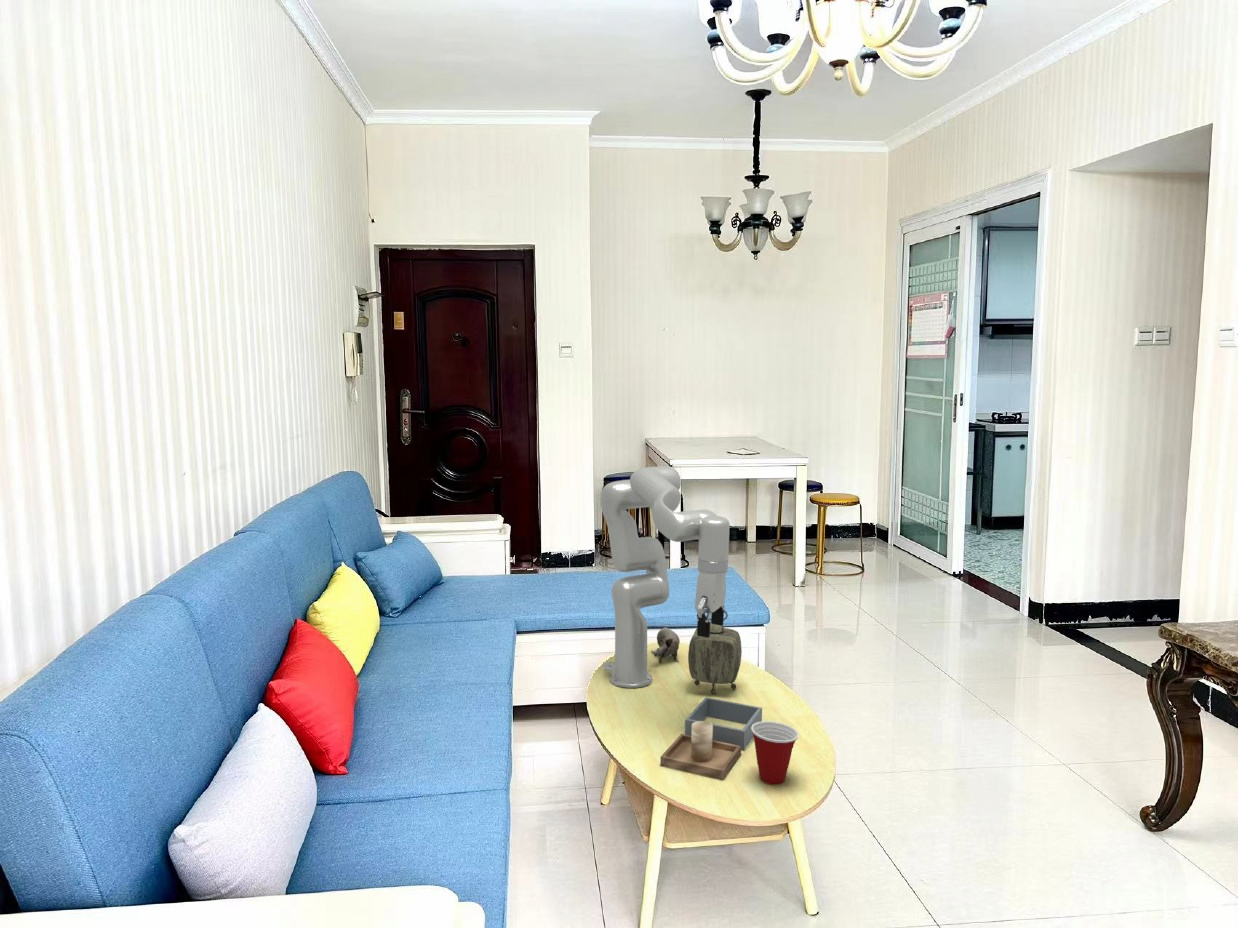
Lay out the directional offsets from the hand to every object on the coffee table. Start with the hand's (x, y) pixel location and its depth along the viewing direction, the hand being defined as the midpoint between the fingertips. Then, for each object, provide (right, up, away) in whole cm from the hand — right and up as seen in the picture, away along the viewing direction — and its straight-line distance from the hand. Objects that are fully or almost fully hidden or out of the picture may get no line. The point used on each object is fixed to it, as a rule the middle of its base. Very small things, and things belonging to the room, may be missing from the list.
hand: (710, 630), depth 218 cm
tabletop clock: (+4, -23, +29) cm, 38 cm away
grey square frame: (+4, -27, +3) cm, 27 cm away
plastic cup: (+12, -30, -21) cm, 39 cm away
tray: (-4, -29, -12) cm, 32 cm away
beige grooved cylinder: (-3, -28, -12) cm, 31 cm away
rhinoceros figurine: (-8, -20, +53) cm, 58 cm away
